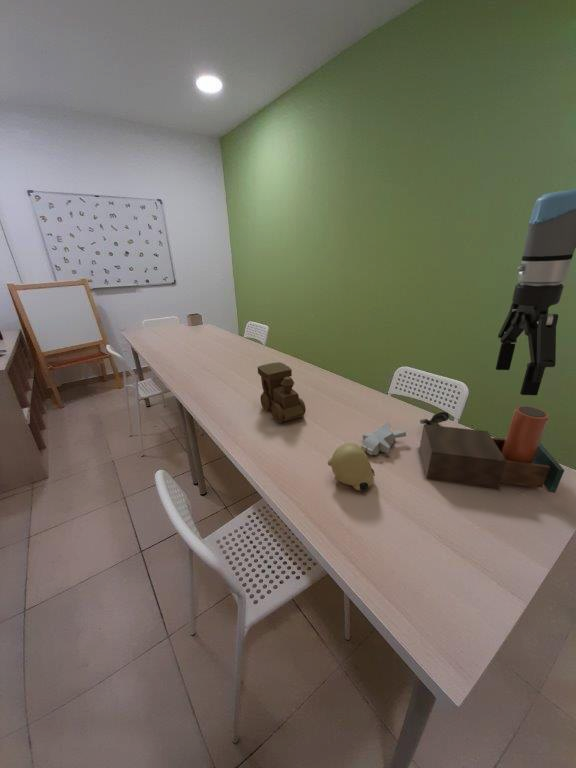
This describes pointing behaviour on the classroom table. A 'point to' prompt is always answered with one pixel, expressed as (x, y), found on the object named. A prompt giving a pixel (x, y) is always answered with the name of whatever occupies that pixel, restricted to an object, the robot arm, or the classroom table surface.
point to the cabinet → (461, 456)
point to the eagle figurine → (436, 419)
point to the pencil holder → (524, 434)
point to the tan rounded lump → (352, 466)
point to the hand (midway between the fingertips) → (514, 381)
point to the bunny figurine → (380, 439)
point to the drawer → (532, 470)
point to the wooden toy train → (280, 392)
